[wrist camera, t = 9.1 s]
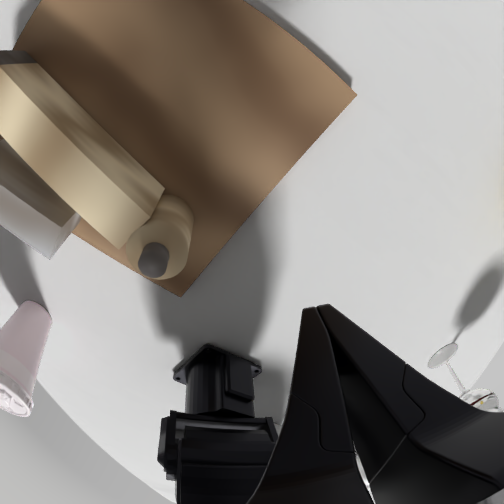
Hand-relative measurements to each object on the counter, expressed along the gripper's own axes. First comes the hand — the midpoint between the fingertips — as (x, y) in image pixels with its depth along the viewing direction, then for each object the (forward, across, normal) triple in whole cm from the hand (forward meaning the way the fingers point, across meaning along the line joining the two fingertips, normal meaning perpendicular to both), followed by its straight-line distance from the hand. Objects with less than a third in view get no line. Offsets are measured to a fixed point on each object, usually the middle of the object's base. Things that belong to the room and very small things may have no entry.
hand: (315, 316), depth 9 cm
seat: (+12, +7, -7) cm, 15 cm away
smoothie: (+12, +23, +7) cm, 27 cm away
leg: (+10, +10, -5) cm, 15 cm away
